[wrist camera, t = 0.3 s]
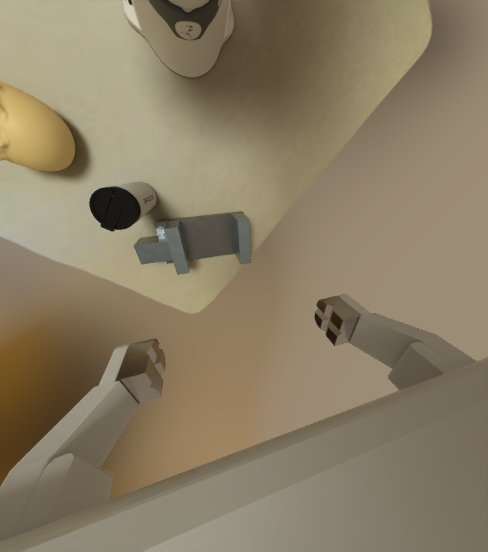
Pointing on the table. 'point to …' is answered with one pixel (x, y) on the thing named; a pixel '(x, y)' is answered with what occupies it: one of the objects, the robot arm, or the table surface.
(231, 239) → the vise
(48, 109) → the sculpture
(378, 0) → the table surface
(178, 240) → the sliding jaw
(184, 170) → the table surface
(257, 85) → the table surface
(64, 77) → the table surface
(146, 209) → the travel mug
